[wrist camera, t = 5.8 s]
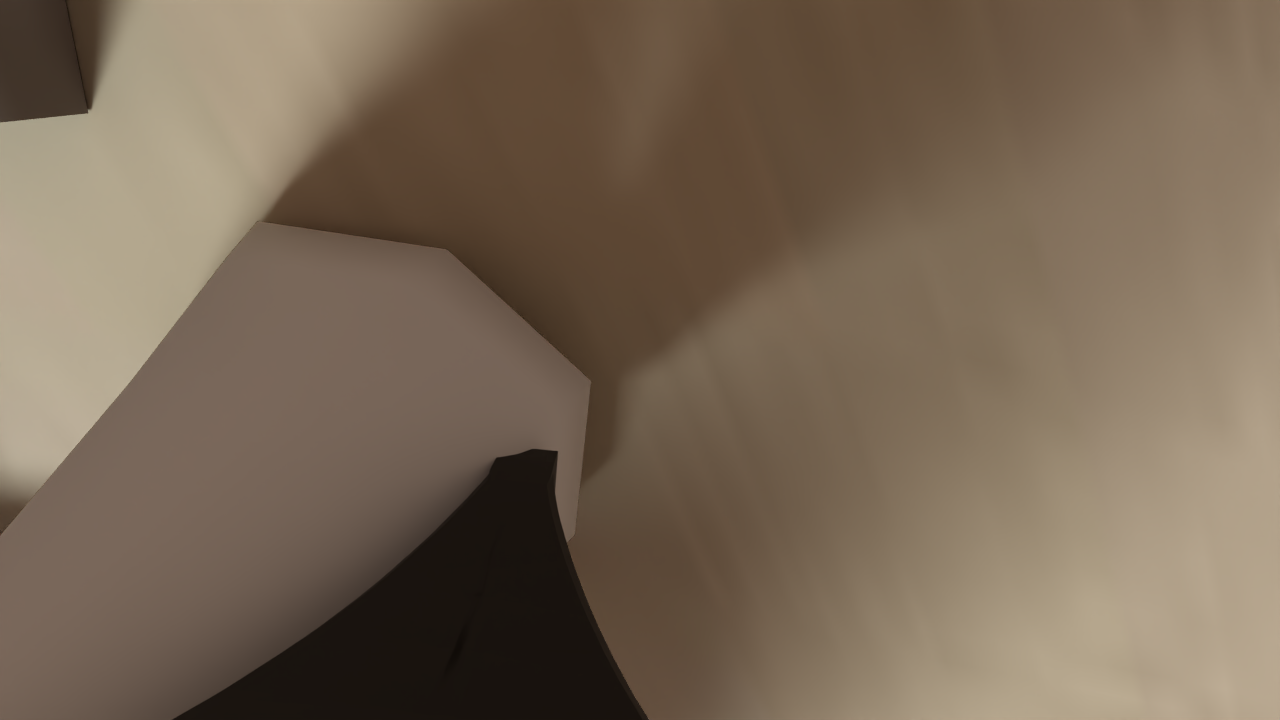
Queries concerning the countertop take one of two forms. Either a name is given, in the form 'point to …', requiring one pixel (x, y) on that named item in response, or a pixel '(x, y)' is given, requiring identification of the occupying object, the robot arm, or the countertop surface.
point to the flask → (270, 471)
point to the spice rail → (38, 61)
